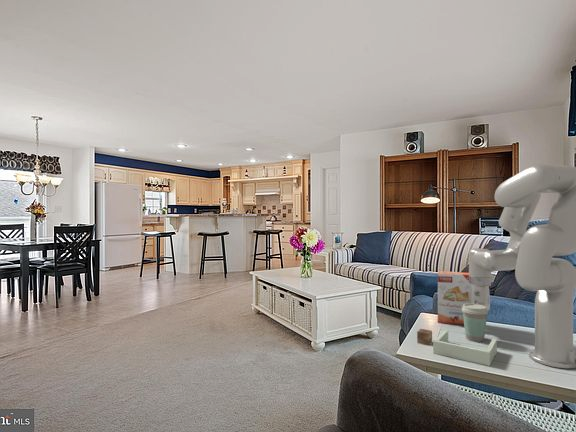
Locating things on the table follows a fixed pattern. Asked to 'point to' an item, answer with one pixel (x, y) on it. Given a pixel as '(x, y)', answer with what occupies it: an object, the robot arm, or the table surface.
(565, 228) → the robot arm
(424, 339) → the walnut block
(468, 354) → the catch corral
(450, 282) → the cracker box
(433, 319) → the table surface
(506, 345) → the table surface
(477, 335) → the coffee cup
